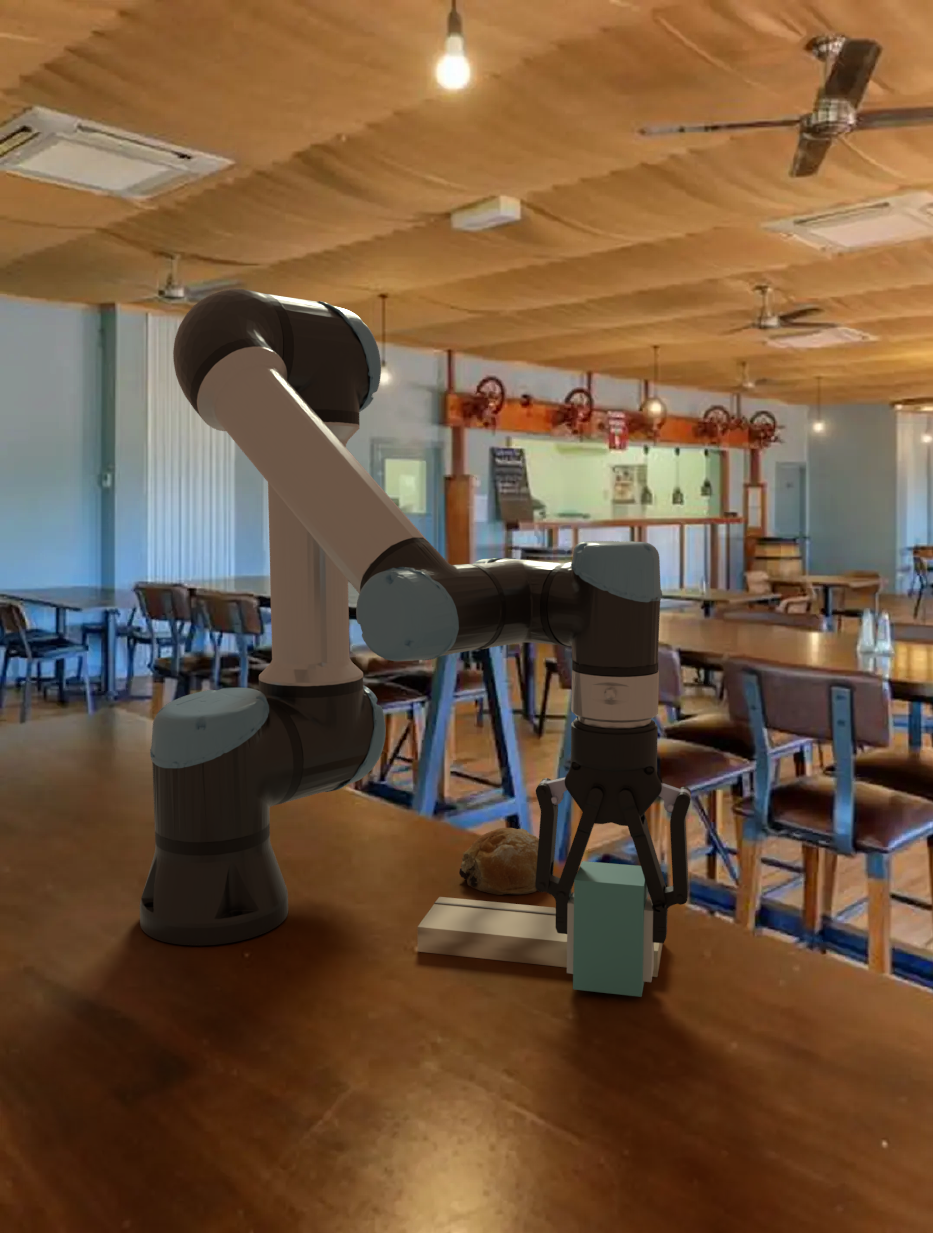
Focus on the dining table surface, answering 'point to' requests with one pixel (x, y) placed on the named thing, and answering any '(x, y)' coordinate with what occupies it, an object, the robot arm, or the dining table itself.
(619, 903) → the teal boxy piece
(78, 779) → the dining table surface
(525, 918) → the plank
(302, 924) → the dining table surface
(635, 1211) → the dining table surface
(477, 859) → the bread roll
